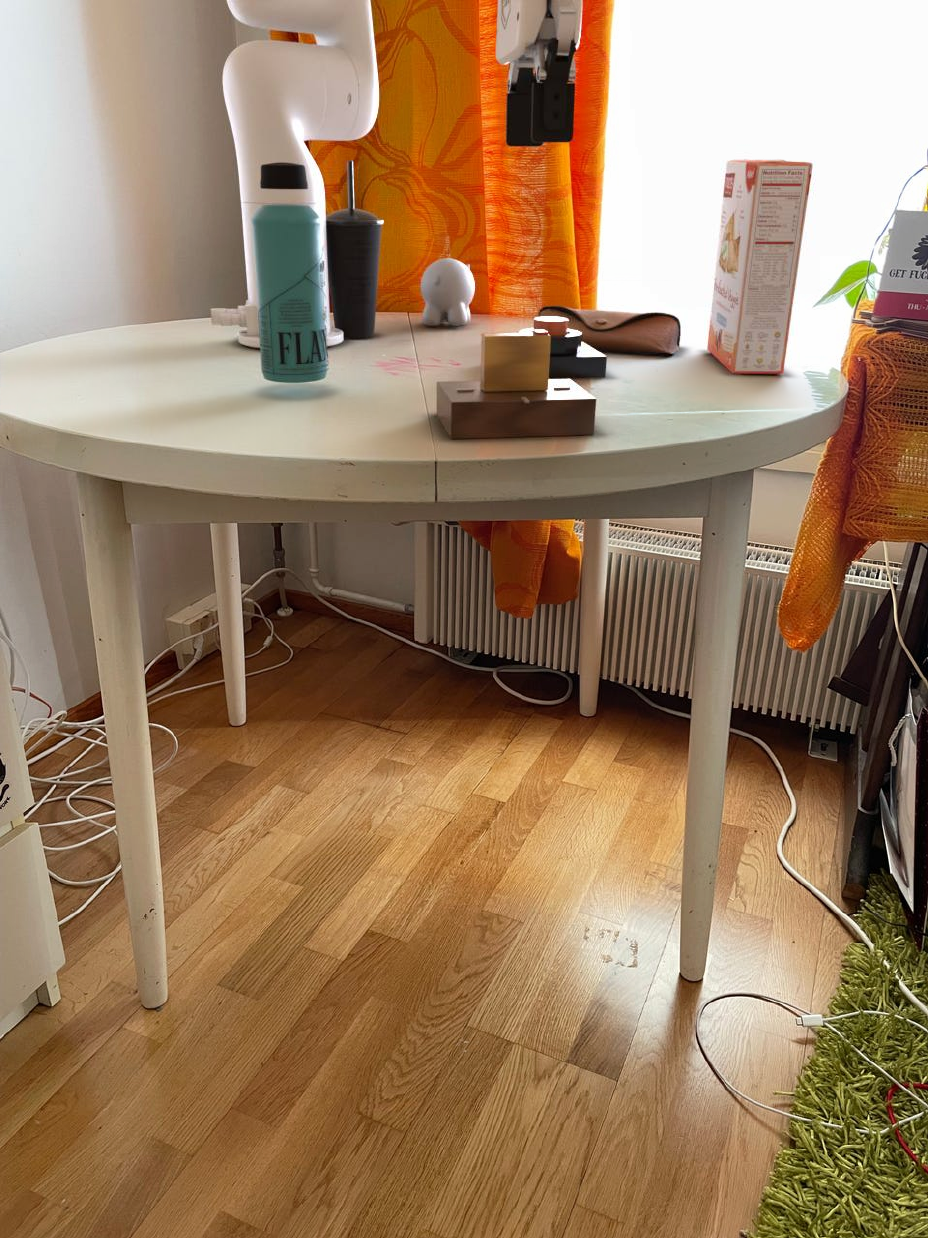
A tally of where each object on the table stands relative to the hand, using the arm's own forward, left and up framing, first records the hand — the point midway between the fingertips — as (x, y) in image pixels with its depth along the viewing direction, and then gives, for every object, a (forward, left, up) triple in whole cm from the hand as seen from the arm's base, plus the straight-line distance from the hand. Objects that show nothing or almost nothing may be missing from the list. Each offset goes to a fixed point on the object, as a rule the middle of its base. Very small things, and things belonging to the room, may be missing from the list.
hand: (537, 143), depth 80 cm
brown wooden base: (-2, -5, -22) cm, 22 cm away
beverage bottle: (-20, +10, -22) cm, 31 cm away
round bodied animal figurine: (+2, +52, -22) cm, 56 cm away
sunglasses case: (+17, +31, -22) cm, 41 cm away
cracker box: (+30, +20, -22) cm, 42 cm away
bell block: (+7, +18, -22) cm, 29 cm away
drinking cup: (-12, +42, -22) cm, 49 cm away
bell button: (+7, +18, -18) cm, 26 cm away
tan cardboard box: (-2, -5, -19) cm, 20 cm away
